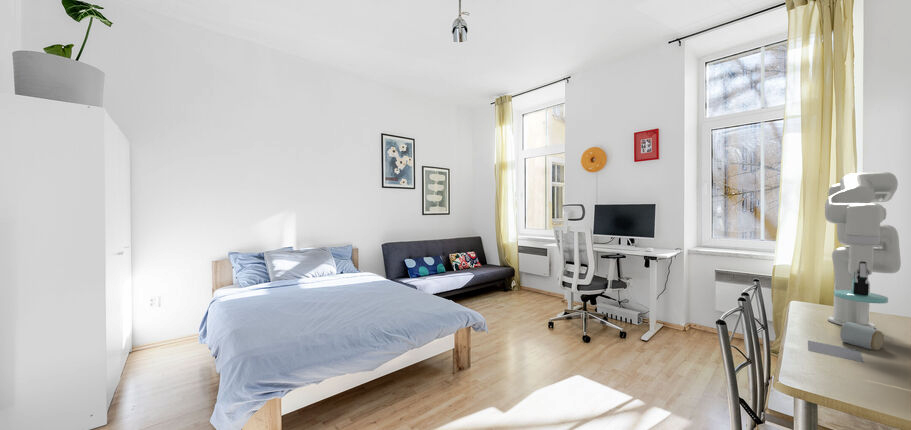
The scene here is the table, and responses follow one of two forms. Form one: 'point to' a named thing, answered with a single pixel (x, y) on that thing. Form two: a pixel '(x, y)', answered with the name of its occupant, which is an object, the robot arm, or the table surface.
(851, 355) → the mat
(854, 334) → the ceramic mug
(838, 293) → the lid
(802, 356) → the table surface
